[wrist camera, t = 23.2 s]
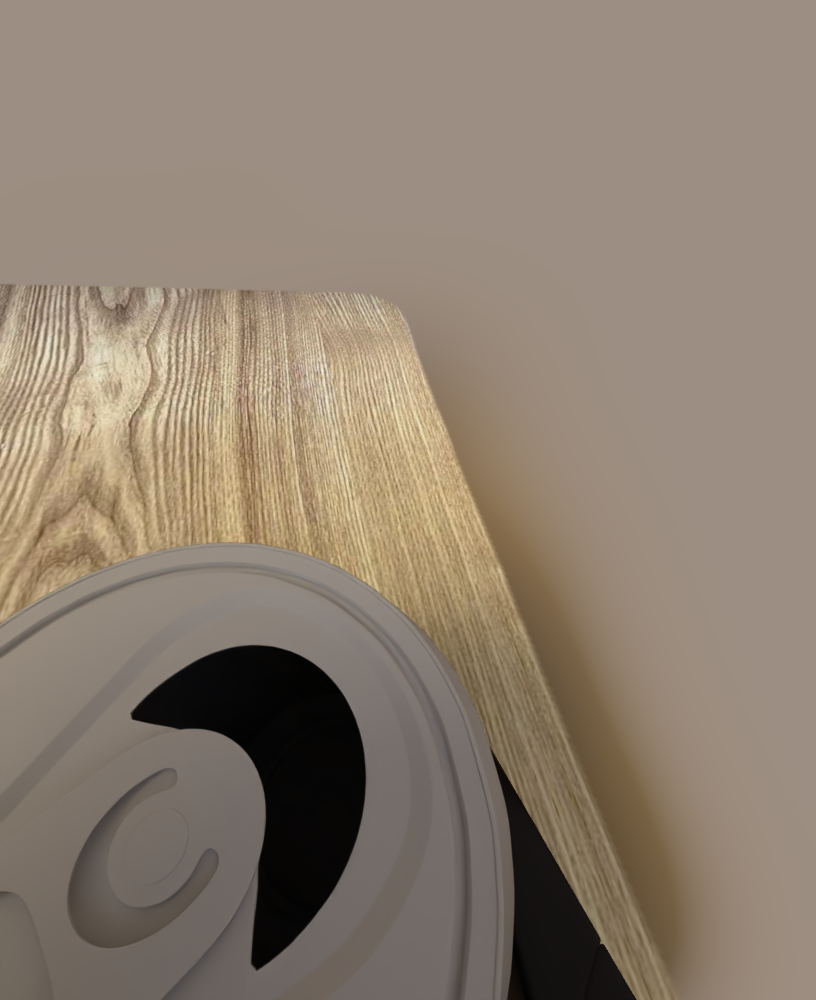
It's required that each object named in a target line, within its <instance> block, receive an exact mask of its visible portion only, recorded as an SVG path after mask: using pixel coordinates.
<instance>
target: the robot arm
mask: <svg viewBox="0 0 816 1000" xmlns="http://www.w3.org/2000/svg"><path fill="white" fill-rule="evenodd" d="M489 747H490V746H489ZM490 750H491V754H492V757H493V760H494V764H495V767H496V771H497V774H498V778H499V781H500V785H501V788H502V792H503V796H504V800H505V804H506V810H507V815H508V820H509V829H510V837H511V849H512V861H513V873H514V927H513V949H512V963H511V975H510V982H509V989H508V996H507V1000H636V998H635V996H634V995H633V993H632V991H631V990H630V988H629V986H628V985H627V983H626V981H625V980H624V978H623V976H622V975H621V973H620V971H619V970H618V968H617V966H616V964H615V963H614V961H613V959H612V957H611V956H610V954H609V952H608V950H607V949H606V947H605V945H603V944H600V941H601V940H600V937H599V935H598V933H597V932H596V930H595V928H594V926H593V925H592V923H591V921H590V919H589V918H588V916H587V914H586V913H585V911H584V909H583V907H582V906H581V904H580V902H579V900H578V899H577V897H576V895H575V893H574V892H573V890H572V888H571V886H570V885H569V883H568V881H567V880H566V878H565V876H564V874H563V873H562V871H561V869H560V867H559V866H558V864H557V862H556V860H555V859H554V857H553V855H552V853H551V852H550V850H549V848H548V847H547V845H546V843H545V841H544V840H543V838H542V836H541V834H540V833H539V831H538V829H537V827H536V826H535V824H534V822H533V820H532V819H531V817H530V815H529V814H528V812H527V810H526V808H525V807H524V805H523V803H522V801H521V800H520V798H519V796H518V794H517V793H516V791H515V789H514V788H513V786H512V784H511V782H510V781H509V779H508V777H507V775H506V774H505V772H504V770H503V768H502V767H501V765H500V763H499V761H498V760H497V758H496V756H495V755H494V753H493V751H492V749H491V748H490Z"/></svg>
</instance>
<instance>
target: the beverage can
mask: <svg viewBox="0 0 816 1000" xmlns="http://www.w3.org/2000/svg"><path fill="white" fill-rule="evenodd" d="M513 927H514V873H513V861H512V849H511V837H510V829H509V820H508V815H507V810H506V804H505V800H504V796H503V792H502V788H501V785H500V781H499V778H498V774H497V771H496V767H495V764H494V760H493V757H492V754H491V750H490V747H489V744H488V740H487V737H486V734H485V731H484V728H483V725H482V722H481V720H480V717H479V715H478V713H477V711H476V708H475V706H474V704H473V702H472V701H471V699H470V697H469V695H468V693H467V691H466V689H465V687H464V686H463V684H462V682H461V681H460V679H459V677H458V675H457V674H456V672H455V670H454V669H453V667H452V666H451V664H450V663H449V662H448V660H447V659H446V657H445V656H444V655H443V653H442V652H441V651H440V650H439V648H438V647H437V646H436V645H435V643H434V642H433V641H432V640H431V639H430V637H429V636H428V635H427V634H426V633H425V632H424V631H423V630H422V629H421V628H420V627H419V626H418V625H417V624H416V623H415V622H414V621H413V620H411V619H410V618H409V617H408V616H407V615H406V614H405V613H403V612H402V611H401V610H400V609H399V608H398V607H396V606H395V605H393V604H392V603H391V602H389V601H388V600H387V599H385V598H384V597H383V596H382V595H381V594H379V593H378V592H377V591H376V590H374V589H373V588H372V587H370V586H369V585H368V584H366V583H365V582H363V581H361V580H360V579H358V578H356V577H355V576H353V575H352V574H350V573H348V572H347V571H345V570H343V569H341V568H340V567H337V566H335V565H333V564H331V563H328V562H326V561H323V560H321V559H318V558H316V557H313V556H310V555H307V554H304V553H301V552H297V551H293V550H289V549H284V548H280V547H274V546H269V545H263V544H254V543H233V542H229V543H207V544H196V545H188V546H180V547H175V548H169V549H164V550H160V551H156V552H152V553H148V554H144V555H140V556H136V557H133V558H130V559H127V560H124V561H121V562H118V563H116V564H113V565H110V566H108V567H105V568H102V569H100V570H97V571H94V572H92V573H90V574H87V575H85V576H82V577H80V578H78V579H76V580H74V581H72V582H70V583H68V584H66V585H64V586H62V587H60V588H58V589H56V590H54V591H52V592H50V593H49V594H47V595H45V596H43V597H41V598H39V599H37V600H36V601H34V602H32V603H31V604H29V605H27V606H26V607H24V608H23V609H21V610H20V611H18V612H16V613H15V614H13V615H12V616H10V617H9V618H7V619H6V620H4V621H3V622H1V623H0V1000H507V996H508V989H509V982H510V975H511V963H512V949H513Z"/></svg>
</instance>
